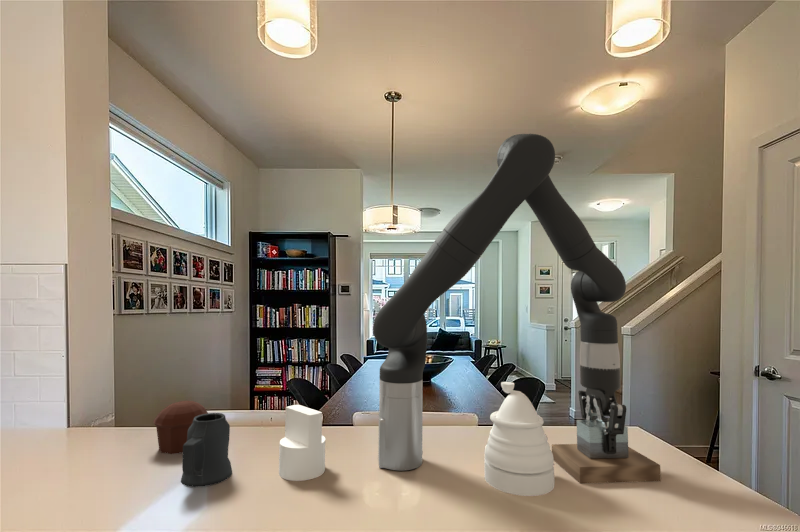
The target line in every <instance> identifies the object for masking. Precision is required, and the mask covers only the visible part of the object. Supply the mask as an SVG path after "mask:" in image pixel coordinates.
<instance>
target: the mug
mask: <svg viewBox="0 0 800 532" xmlns="http://www.w3.org/2000/svg"><path fill="white" fill-rule="evenodd" d="M230 428H231V425H230V424H229V422H228V421H227V419H226V414H224V413H221V412H209V413H207V414H202V415H198V416H196V417H195V418H194V419H193V423H192V424H191V426H190V427H189V429H188V433H187V442H186V443H185V444H184V445H183V453H182V457H181V458H182V459H181V460H182V461H181V463H182V464H181V465H182V466H181V468H182V474H181V478H180V483H181V484H182V485H183V486H186V487H191V488H200V487H201V488H203V487H209V486H213V485H216V484H220V483H222V482H224V481H227V480H228V479H229V478H230V477H232V475H233V469H232V464H231V460H230V458H229V444H230V433H231V431H230V430H231V429H230Z"/></svg>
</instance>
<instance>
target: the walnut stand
mask: <svg viewBox="0 0 800 532" xmlns="http://www.w3.org/2000/svg"><path fill="white" fill-rule="evenodd" d="M551 452H552V454H553V458H554V461H553V462H555V463H556V464H558V466H560V468H562V469H563V470H564V471H565V472H567V473H568V475H570V476H571V477H572V478H573V479H574V480H575V481H577V482H578V483H579V484H610V483H611V484H612V483H638V482H639V483H646V482H647V483H648V482H662V477H661V475H662V473H661V472H662V471H661V464H660V463H658V462H656V461H655V460H652V459H650V458H649V457H647V456H646V455H643V454H642V453H640V452H639V451H637V450H635V449H633V448H632V447H630V446H628V454H629V458H589V457H587V456H586V455H585V454H583V453H582V452H580V451H579V450H578V449H577V443H565V444H561V443H560V444H559V443H558V444H557V443H555V444H551Z"/></svg>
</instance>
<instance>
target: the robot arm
mask: <svg viewBox="0 0 800 532" xmlns="http://www.w3.org/2000/svg"><path fill="white" fill-rule="evenodd" d="M555 151H556V150H555V147H554V145H553V143H552V142H551V140H550V139H549V138H548V137H546V136H543V135H541V134H536V133H519V134H515V135H514V134H513V135H511V136H510V137H509V136H508V137H507V138H506V139H505V140H504V141H503V142H502V143H501V144H500V146H499V148H498V151H497V153H496V154H497V155H496V163H497V169H496V171H495V172H494V174H493V175H492V176H491V179H490V180H489V181H488V183H487V184H486V186H485V187H484V189H483V190H481V192H480V193H479V194H478V195H477V196H476V197H475V198H474V199H472V201H470V202H469V203H468V204H467V205H466V206H464V207H463V208H462V209H461V210H460V211H459V212H458V213H456V215H455V216H453V217H452V218H451V219H450V221H449V222H448V223H447V224H446V225H445V227H444V228H443V229H442V231H441V232H440V233H439V235H438V236H437V237H436V239H434V242H433V243H432V244H431V245H430V247H429V249H428V250H427V252H426V253H425V254H424V255H423V257H422V259H421V260H420V261H419V262H418V264H417V265H416V267H414V269H413V271H412V272H411V274H409V277H408V278H407V280H405V281H404V283H403V284H402V285H401V286H400V287H399V289H397V291H396V292H395V293H394V294H393V295H392V296H391V297H390V298H389V299H388V301H386V302H385V304H383V306H382V307H381V308H380V310H379V311H378V312H377V313H376V315H375V318H374V321H373V325H372V330H373V336H374V339H375V340H376V342H377V343H378V344H379V345H380V346H382V347H384V348H385V349H386V348H387V349H388V352H387V356H386V358H385V359H384V361H383V363H382V364H381V365H380V368H379V396H378V397H379V401H378V402H379V403H378V405H379V409H378V411H379V412H378V447H377V448H378V451H377V452H378V453H377V454H378V455H377V456H378V458H377V459H378V468H379V469H386V470H387V469H388V470H391V471H392V470H393V471H409V470H410V471H411V470H414V469H417V468H420V467H421V466H422V464H423V453H424V452H423V388H424V387H423V382H424V381H423V377H424V376H423V374H424V373H423V372H424V368H425V367H426V364H427V363H426V362H427V348H428V347H427V345H428V344H427V343H428V325H427V320H426V319H427V318H426V316H425V313H426V312H427V311H428V309H429V308H430V306H432V304H433V303H434V302H436V301H437V299H438V298H440V297H441V296H442V295H444V293H446V292H447V291H448V290H450V289H451V288H453V287H454V286H455V285H456V284H458V283H459V282H460V281H461V280H462V279H463V278H464V277H465V276H466V275H467V274H468V273H469V272H470V271H471V269H472V268H474V265H475V264H476V263H477V262H478V261H479V259H480V258H481V257H482V255H483V254H484V252H486V250H487V248H489V246H490V244H492V242H493V241H494V239H495V238H496V237H497V235H498V234H499V233H500V231H501V230H502V229H503V227H504V226H505V224H506V223H507V222H508V221H509V219H510V217H512V215H513V214H514V212H516V210H517V209H519V207H520V206H521V205H522V203H524V202H526V203H527V204H528V206H529V208H530V210H531V211H533V213H534V215H535V217H536V218H537V220H538V222H539V223H540V226H541V227H542V228H543V230H544V232H545V234H546V236H547V237H548V239H549V240H550V243H551V244H552V246H553V248H554V249H555V250H556V252H557V254H558V256H559V257H560V259H561V261H562V263H564V265H565V266H566V267H567V268H568V269H570V270H573V271H576V272H575V273H574V275H573V277H572V278H571V281H570V293H571V295H572V296H571V297H572V300H573V303H574V306H575V309H576V312H577V313H576V314H577V316H578V320H579V323H580V328H579V329H580V347H579V373H580V374H579V377H580V379H579V381H580V386H582V387H583V388H586V389H585V390H578V401H579V406H580V407H579V409H580V415H581V420H599V422H601V424H602V427H603V433H604V434H603V443H604V452H605V453H606V454H616V435H618V434H624V426H626V425H625V424H626V419H627V418H626V415H627V406H626V405H625V404H619V403H618V402H617V398H616V392H617V391H618V390H620V389H621V386H622V385H621V360H620V359H621V358H620V357H621V356H620V355H621V354H620V349H619V343H618V341H619V336H618V334H619V333H618V320H617V318H616V316H614V315H612V314H610V313H606V312H603V311H602V310H601V309H600V306H599V304H598V303H612V302H617V301H619V300H621V299H622V298H623V297H624V295H625V294H626V291H627V290H626V289H627V282H626V280H625V276H624V274H623V273H622V271H621V270H620V269H619V267H618V266H617V265H616V264H615V263H614V262H613V261H612V260H611V259H610V258H609V257H608V256H607V255H606V254H605V253H604V252H603V251H601V249H599V248H598V247H597V246H596V243H595V241H594V240H593V238H592V236H591V234H590V232H589V231H588V229H587V227H586V226H585V224H584V222H582V220H581V219H580V217H579V216H578V215H577V213H576V212H575V211H574V210H573V208H572V207H571V206H570V205H569V204H568V202H567V201H566V200H565V198H563V196H562V195H561V194H560V192H559V190H558V189H557V188H556V185H555V184H554V182H553V181H552V178H551V177H550V173H551V171H552V170H553V168H554V165H555V159H556V152H555ZM607 422H609V427H608V426H607ZM617 424H618V428H617Z"/></svg>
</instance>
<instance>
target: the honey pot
mask: <svg viewBox="0 0 800 532" xmlns="http://www.w3.org/2000/svg"><path fill="white" fill-rule="evenodd" d="M500 386H501V388H502V391H503V392H504V393H505V394H508V395H507V396H506V397H505V398H504V400H503V401H502V403H501V405H500V407H499V408H498V410H496V411H494V412H492V413H491V414H490V416H489V419H490V421H491V422H492V423H493V425H492V428H491V429H490V430H489V436H488V438H487V442H486V445H485V446H484V456H483V457H484V460H483V462H484V463H483V464H484V465H483V466H484V467H483V468H484V469H483V470H484V480H485V482H486V484H487V483H488V485H489V486H490V487H492V488H494V489H496V490H497V491H501V492H503V493H505V494H510V495H514V496H520V497H521V496H522V497H524V496H525V497H535V496H536V497H537V496H544V495H546V494H550V492H551V491H553V490H554V488H555V466H554V465H555V464H554V462H555V461H554V458H553V454H552V449H551V446H550V443H549V442H548V435H547V434H546V433H545V430H544V427H543V424H544V418H543V417H541V416H540V415H539V414H538V413H537V411H536V408H535V407H534V404H533V403H532V402H531V400H530V399H529V397H528V396H527V395H526V394H525V393H523V392H522V391H520V390H514V388H515V383H514V382H512V381H501V382H500Z"/></svg>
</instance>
